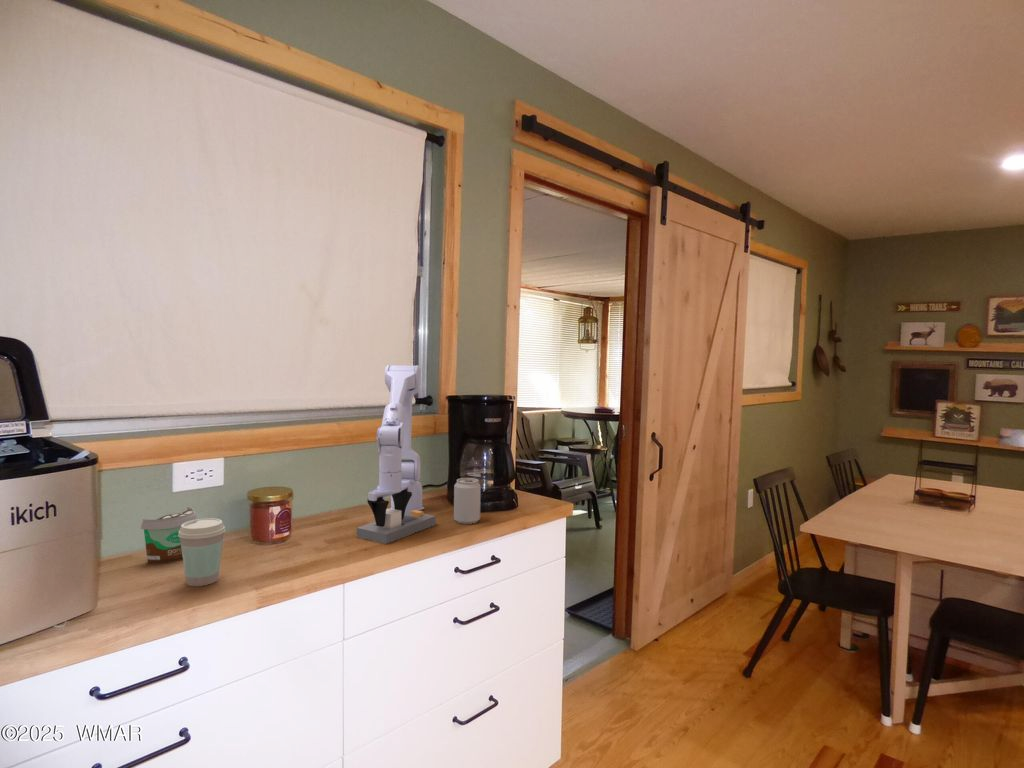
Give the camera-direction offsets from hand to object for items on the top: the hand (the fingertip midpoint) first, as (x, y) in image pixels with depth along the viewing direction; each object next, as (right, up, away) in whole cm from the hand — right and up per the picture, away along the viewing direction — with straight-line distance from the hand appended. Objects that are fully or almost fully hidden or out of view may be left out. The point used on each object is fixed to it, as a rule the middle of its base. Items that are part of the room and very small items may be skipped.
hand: (390, 522), depth 153 cm
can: (+19, -3, +13) cm, 23 cm away
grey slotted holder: (+1, -3, +3) cm, 4 cm away
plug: (0, -3, 0) cm, 3 cm away
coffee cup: (-31, -4, -34) cm, 46 cm away
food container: (-44, -3, -20) cm, 49 cm away
